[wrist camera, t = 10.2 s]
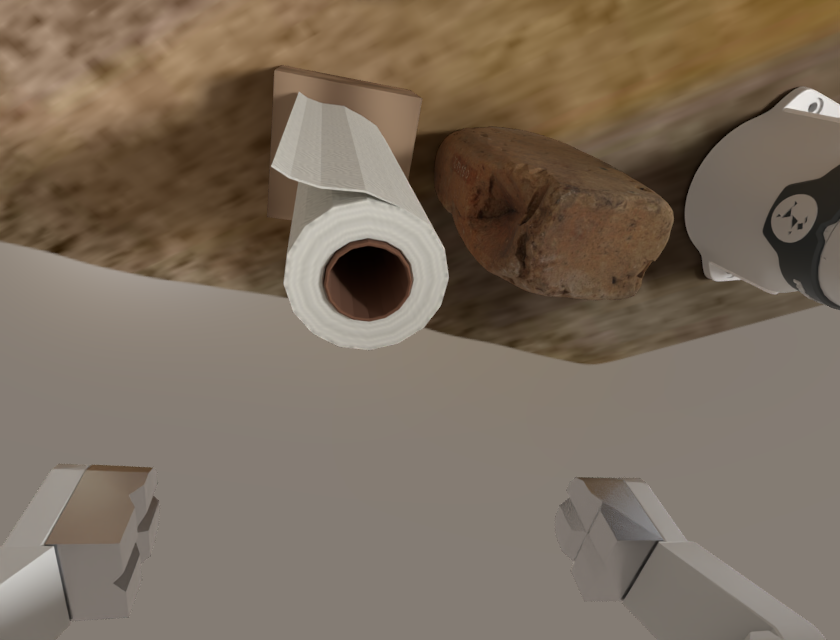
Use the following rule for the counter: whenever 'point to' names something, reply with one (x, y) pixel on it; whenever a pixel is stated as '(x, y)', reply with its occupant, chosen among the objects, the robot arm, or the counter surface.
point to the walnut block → (373, 101)
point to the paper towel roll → (355, 232)
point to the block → (550, 213)
